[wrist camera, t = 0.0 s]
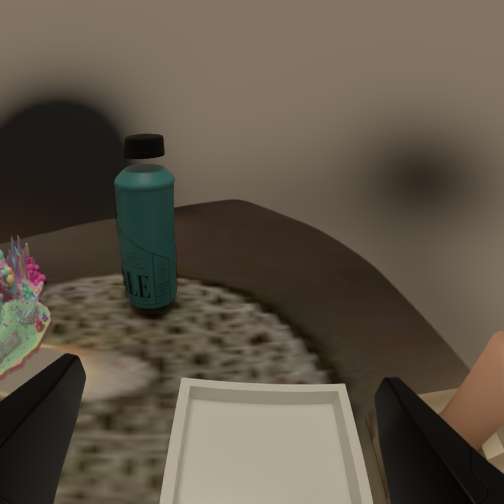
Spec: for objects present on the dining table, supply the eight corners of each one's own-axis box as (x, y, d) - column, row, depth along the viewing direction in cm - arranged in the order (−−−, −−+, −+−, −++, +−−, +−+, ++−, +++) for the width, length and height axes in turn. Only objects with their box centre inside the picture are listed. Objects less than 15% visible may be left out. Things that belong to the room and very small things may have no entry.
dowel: (461, 472, 18) (554, 373, 12) (417, 486, 17) (515, 387, 11) (445, 432, 22) (520, 328, 16) (403, 441, 22) (478, 332, 16)
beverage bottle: (181, 290, 40) (182, 130, 31) (175, 323, 35) (171, 138, 25) (133, 287, 40) (124, 131, 31) (120, 319, 34) (101, 139, 25)
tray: (373, 600, 9) (389, 599, 8) (154, 608, 8) (146, 610, 7) (337, 400, 26) (344, 383, 25) (183, 394, 26) (181, 377, 25)
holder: (493, 488, 15) (513, 472, 14) (392, 526, 14) (411, 515, 13) (457, 403, 25) (471, 385, 24) (366, 418, 24) (377, 399, 23)
